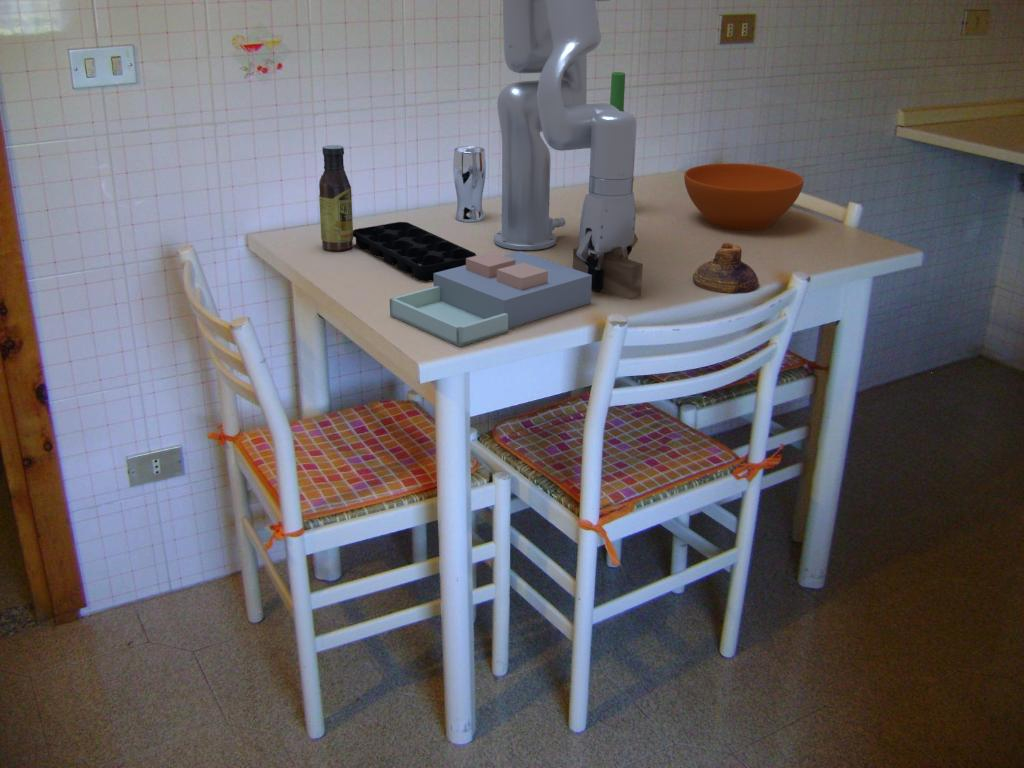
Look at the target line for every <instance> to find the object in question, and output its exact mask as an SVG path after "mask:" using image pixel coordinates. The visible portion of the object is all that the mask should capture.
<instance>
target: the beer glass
mask: <svg viewBox="0 0 1024 768" xmlns="http://www.w3.org/2000/svg"><path fill="white" fill-rule="evenodd" d="M452 166H453V167H452V172H453V175H452V176H453V183H454V186H455V187H454V188H455V192H456V193H455V194H456V198H457V199H456V200H457V206H456V207H457V208H456V213H455V219H456V220H457V221H459V222H463V221H464V222H463V223H475V222H476V221H477V222H481V221H483V220H484V218H485V217H484V215H485V214H484V210H483V195H484V189H485V183H486V173H487V163H486V150H485V148H483V147H479V146H472V145H471V146H470V145H469V146H467V145H466V146H458V147H455V148H454V149H453V163H452Z"/></svg>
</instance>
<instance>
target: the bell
mask: <svg viewBox="0 0 1024 768" xmlns="http://www.w3.org/2000/svg"><path fill="white" fill-rule="evenodd" d="M692 280H693V283H694V284H695V285H697V287H700V288H702V289H704V290H708V291H710V292H717V293H720V294H721V293H723V294H738V293H749V292H751V291H754V290H755V289H756V288H757V287H758V286H759V277H758V275H757V274H756V272H755V271H754V269H753V267H751V266H750V265H748V264H747V263H746V262H743V261H742V247H741V246H740V245H738V244H735V243H731V242H723V243H722V244H721V246H720V248H719V249H718V250H717V251H716V252H715V255H714V258H712V259H711V260H709V261H707V262H704V263H702V264H700V265H699V266H698V267H697V268H696V269H695V271H694V272H693V274H692Z"/></svg>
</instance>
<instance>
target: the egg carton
mask: <svg viewBox="0 0 1024 768" xmlns="http://www.w3.org/2000/svg"><path fill="white" fill-rule="evenodd" d="M353 238H354V239H355V243H356V246H357V247H358V248H360V249H361V250H365V251H369V254H371V255H372V256H374V257H377V258H382V259H383V261H384V262H386V263H387V264H390V265H393V266H397V269H398V270H400V271H402V272H404V273H405V274H406V273H407V274H412V277H413V278H414V277H415V279H416V280H417V279H418V281H420V280H423V281H422V282H431V281H430V280H433V281H434V273H436V272H440V271H444V270H448V269H452V268H456V267H460V266H464V265H466V258H470V257H474V256H477V253H475V252H473V251H471V250H469V249H467V248H466V247H465V248H464V247H463V246H460V245H459V244H457V243H454V242H451V241H449V240H447V239H446V238H443V237H441V236H439V235H436V234H434V233H432V232H430V231H428V230H425V229H423V228H421V227H419V226H416V225H414V224H412V223H410V222H408V221H397V222H390V223H384V224H378V225H373V226H367V227H361V228H355V229H353Z"/></svg>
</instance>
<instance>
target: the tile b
mask: <svg viewBox="0 0 1024 768" xmlns="http://www.w3.org/2000/svg"><path fill="white" fill-rule="evenodd" d="M497 281H498V282H501V283H503V284H506V285H509V286H511V287H514V288H517V289H519V290H523V289H527V288H530V287H534V286H537V285H541V284H544V283H548V271H546V270H544V269H541V268H538V267H535V266H532V265H529V264H526V263H520V264H516V265H512V266H508V267H505V268H501V269H497Z"/></svg>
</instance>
